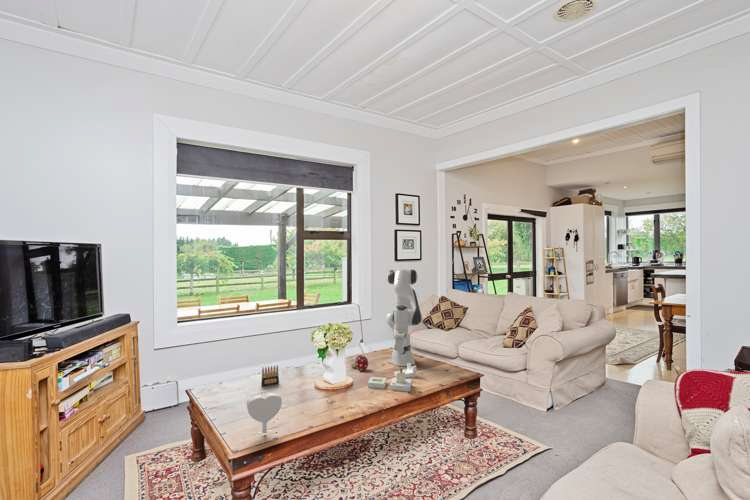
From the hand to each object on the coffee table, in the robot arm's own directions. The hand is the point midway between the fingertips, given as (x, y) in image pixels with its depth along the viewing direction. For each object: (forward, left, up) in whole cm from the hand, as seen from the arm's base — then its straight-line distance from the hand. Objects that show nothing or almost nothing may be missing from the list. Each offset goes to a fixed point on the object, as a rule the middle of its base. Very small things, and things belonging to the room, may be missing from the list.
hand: (401, 354), depth 233 cm
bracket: (-20, 0, -22) cm, 30 cm away
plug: (0, 0, -20) cm, 20 cm away
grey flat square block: (0, -15, -21) cm, 26 cm away
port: (0, 0, -21) cm, 21 cm away
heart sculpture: (+68, -56, -21) cm, 91 cm away
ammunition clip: (+11, -82, -21) cm, 85 cm away
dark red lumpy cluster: (-29, -33, -21) cm, 49 cm away
